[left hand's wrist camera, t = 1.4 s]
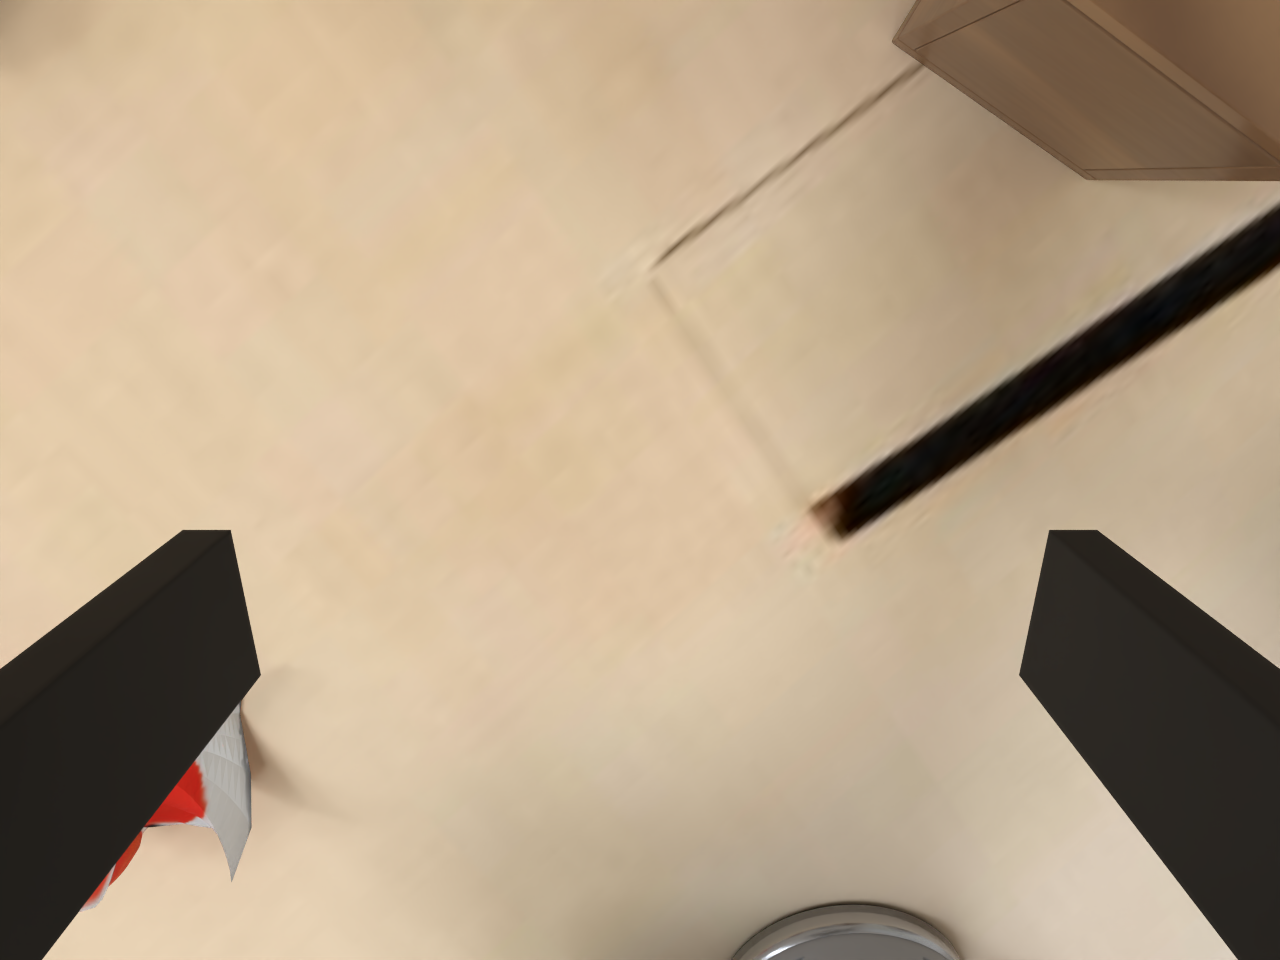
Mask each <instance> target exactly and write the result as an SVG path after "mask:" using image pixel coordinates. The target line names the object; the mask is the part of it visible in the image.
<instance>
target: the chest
mask: <svg viewBox="0 0 1280 960" xmlns="http://www.w3.org/2000/svg"><path fill="white" fill-rule="evenodd" d="M892 42H893V43H894V44H895V45H896V46H898V47H899V48H901V49H902V50H903V51H905V52H906V53H908V54H909V55H911V56H912V57H913V58H915V59H916V60H918V61H919V62H920V63H922V64H923V65H925V66H926V67H928V68H929V69H930V70H932V71H933V72H935V73H936V74H938V75H939V76H940V77H942V78H943V79H945V80H946V81H947V82H949V83H950V84H952V85H953V86H955V87H956V88H957V89H959V90H960V91H962V92H963V93H964V94H966V95H967V96H969V97H970V98H972V99H973V100H974V101H976V102H977V103H979V104H980V105H982V106H983V107H984V108H986V109H987V110H989V111H990V112H991V113H993V114H994V115H996V116H997V117H999V118H1000V119H1001V120H1003V121H1004V122H1006V123H1007V124H1008V125H1010V126H1011V127H1013V128H1014V129H1016V130H1017V131H1018V132H1020V133H1021V134H1023V135H1024V136H1026V137H1027V138H1028V139H1030V140H1031V141H1033V142H1034V143H1035V144H1037V145H1038V146H1040V147H1041V148H1043V149H1044V150H1045V151H1047V152H1048V153H1050V154H1051V155H1053V156H1054V157H1055V158H1057V159H1058V160H1060V161H1061V162H1062V163H1064V164H1065V165H1067V166H1068V167H1070V168H1071V169H1072V170H1074V171H1075V172H1077V173H1078V174H1079V175H1081V176H1082V177H1084V178H1085V179H1087V180H1190V181H1280V161H1279V160H1277V159H1276V158H1275V157H1273V156H1272V155H1271V154H1269V153H1268V152H1267V151H1266V150H1264V149H1263V148H1262V147H1260V146H1259V145H1258V144H1256V143H1255V142H1254V141H1252V140H1251V139H1250V138H1248V137H1247V136H1246V135H1244V134H1243V133H1242V132H1240V131H1239V130H1238V129H1236V128H1235V127H1234V126H1232V125H1231V124H1230V123H1228V122H1227V121H1226V120H1224V119H1223V118H1222V117H1220V116H1219V115H1218V114H1217V113H1215V112H1214V111H1213V110H1211V109H1210V108H1209V107H1207V106H1206V105H1205V104H1203V103H1202V102H1201V101H1199V100H1198V99H1197V98H1195V97H1194V96H1193V95H1191V94H1190V93H1189V92H1187V91H1186V90H1185V89H1183V88H1182V87H1181V86H1179V85H1178V84H1177V83H1175V82H1174V81H1173V80H1171V79H1170V78H1169V77H1168V76H1166V75H1165V74H1164V73H1162V72H1161V71H1160V70H1158V69H1157V68H1156V67H1154V66H1153V65H1152V64H1150V63H1149V62H1148V61H1146V60H1145V59H1144V58H1142V57H1141V56H1140V55H1138V54H1137V53H1136V52H1134V51H1133V50H1132V49H1130V48H1129V47H1128V46H1126V45H1125V44H1124V43H1122V42H1121V41H1120V40H1119V39H1117V38H1116V37H1115V36H1113V35H1112V34H1111V33H1109V32H1108V31H1107V30H1105V29H1104V28H1103V27H1101V26H1100V25H1099V24H1097V23H1096V22H1095V21H1093V20H1092V19H1091V18H1089V17H1088V16H1087V15H1085V14H1084V13H1083V12H1081V11H1080V10H1079V9H1077V8H1076V7H1075V6H1073V5H1072V4H1071V3H1070V2H1068V1H1067V0H917V1H916V3H915V4H914V6H913V7H912V9H911V11H910V12H909V14H908V16H907V17H906V19H905V21H904V22H903V24H902V25H901V27H900V29H899V30H898V32H897V34H896V35H895V37H894V38H893V41H892Z"/></svg>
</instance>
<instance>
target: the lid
mask: <svg viewBox="0 0 1280 960" xmlns="http://www.w3.org/2000/svg"><path fill="white" fill-rule="evenodd" d="M1067 1H1068V2H1070V3H1071V4H1072V5H1073V6H1075V7H1076V8H1077V9H1079V10H1080V11H1081V12H1083V13H1084V14H1085V15H1087V16H1088V17H1089V18H1091V19H1092V20H1093V21H1095V22H1096V23H1097V24H1099V25H1100V26H1101V27H1103V28H1104V29H1105V30H1107V31H1108V32H1109V33H1111V34H1112V35H1113V36H1115V37H1116V38H1117V39H1119V40H1120V41H1121V42H1122V43H1124V44H1125V45H1126V46H1128V47H1129V48H1130V49H1132V50H1133V51H1134V52H1136V53H1137V54H1138V55H1140V56H1141V57H1142V58H1144V59H1145V60H1146V61H1148V62H1149V63H1150V64H1152V65H1153V66H1154V67H1156V68H1157V69H1158V70H1160V71H1161V72H1162V73H1164V74H1165V75H1166V76H1168V77H1169V78H1170V79H1171V80H1173V81H1174V82H1175V83H1177V84H1178V85H1179V86H1181V87H1182V88H1183V89H1185V90H1186V91H1187V92H1189V93H1190V94H1191V95H1193V96H1194V97H1195V98H1197V99H1198V100H1199V101H1201V102H1202V103H1203V104H1205V105H1206V106H1207V107H1209V108H1210V109H1211V110H1213V111H1214V112H1215V113H1217V114H1218V115H1219V116H1220V117H1222V118H1223V119H1224V120H1226V121H1227V122H1228V123H1230V124H1231V125H1232V126H1234V127H1235V128H1236V129H1238V130H1239V131H1240V132H1242V133H1243V134H1244V135H1246V136H1247V137H1248V138H1250V139H1251V140H1252V141H1254V142H1255V143H1256V144H1258V145H1259V146H1260V147H1262V148H1263V149H1264V150H1266V151H1267V152H1268V153H1269V154H1271V155H1272V156H1273V157H1275V158H1276V159H1277V160H1279V161H1280V0H1067Z"/></svg>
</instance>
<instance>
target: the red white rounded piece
mask: <svg viewBox="0 0 1280 960" xmlns="http://www.w3.org/2000/svg"><path fill="white" fill-rule="evenodd" d="M240 707H241V701H240V703H239V704H238V705H237V707H236V708H235V709H234V711H233V712H232V713H231V715H230V716H229V717H228V718H227V720H226V721H225V722H224V724H223V725H222V726H221V728H220V729H219V730H218V731H217V733H216V734H215V735H214V737H213V738H212V739H211V741H210V742H209V743H208V744H207V746H206V747H205V748H204V750H203V751H202V752H201V754H200V755H199V756H198V757H197V759H196V760H195V761H194V763H193V764H192V765H191V767H190V768H189V769H188V770H187V772H186V773H185V774H184V776H183V777H182V778H181V780H180V781H179V782H178V783H177V785H176V786H175V787H174V789H173V790H172V791H171V793H170V794H169V795H168V796H167V798H166V799H165V800H164V802H163V803H162V804H161V806H160V807H159V808H158V809H157V811H156V812H155V813H154V815H153V816H152V817H151V819H150V820H149V821H148V822H147V824H146V825H145V826H144V828H143V829H142V830H141V832H140V833H139V834H138V835H137V837H136V838H135V839H134V841H133V842H132V843H131V845H130V846H129V847H128V848H127V850H126V851H125V852H124V854H123V855H122V856H121V858H120V859H119V860H118V861H117V863H116V864H115V865H114V867H113V868H112V869H111V871H110V872H109V873H108V874H107V876H106V877H105V878H104V880H103V881H102V882H101V884H100V885H99V886H98V887H97V889H96V890H95V891H94V893H93V894H92V895H91V897H90V898H89V899H88V900H87V902H86V903H85V904H84V906H83V907H82V908H81V910H80V911H85V910H88V909H91V908H94V907H96V906H97V904H98V903H99V902H100V901H101V900H102V899H103V897H104V895H105V893H106V890H107V888H108V886H110V885H111V884H112V883H113V882H114V881H115V880H116V879H117V878H118V877H119V876H120V875H121V873H122V872H123V871H124V870H125V868H126V867H127V866H128V864H129V863H130V861H131V859H132V858H133V856H134V855H135V853H136V852H137V850H138V848H139V846H140V843H141V838H142V834H143V833H144V831H145V830H146V829H147V827H156V826H166V825H175V824H189V825H195V826H200V827H209V828H212V829H213V830H214V831H215V832H216V833H217V835H218V837H219V839H220V841H221V844H222V846H223V849H224V852H225V854H226V857H227V861H228V865H229V868H230V874H231V882H232V880H233V877H234V874H235V872H236V869H237V866H238V863H239V860H240V858H241V855H242V852H243V849H244V846H245V844H246V841H247V838H248V835H249V833H250V830H251V773H250V768H249V762H248V757H247V751H246V745H245V740H244V734H243V728H242V723H241V717H240Z"/></svg>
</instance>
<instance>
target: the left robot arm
mask: <svg viewBox="0 0 1280 960" xmlns="http://www.w3.org/2000/svg"><path fill="white" fill-rule="evenodd" d="M260 675H261V674H260V669H259V664H258V659H257V654H256V650H255V645H254V640H253V635H252V630H251V626H250V621H249V616H248V611H247V606H246V602H245V597H244V592H243V587H242V582H241V578H240V573H239V568H238V563H237V558H236V554H235V549H234V544H233V539H232V534H231V530H182V531H181V532H180V533H178V534H177V535H176V536H174V537H173V538H172V539H170V540H169V541H168V542H167V543H165V544H164V545H163V546H161V547H160V548H159V549H157V550H156V551H155V552H153V553H152V554H151V555H149V556H148V557H147V558H146V559H144V560H143V561H142V562H140V563H139V564H138V565H136V566H135V567H134V568H132V569H131V570H130V571H128V572H127V573H126V574H125V575H123V576H122V577H121V578H119V579H118V580H117V581H115V582H114V583H113V584H111V585H110V586H109V587H107V588H106V589H105V590H103V591H102V592H101V593H100V594H98V595H97V596H96V597H94V598H93V599H92V600H90V601H89V602H88V603H86V604H85V605H84V606H82V607H81V608H80V609H79V610H77V611H76V612H75V613H73V614H72V615H71V616H69V617H68V618H67V619H65V620H64V621H63V622H61V623H60V624H59V625H58V626H56V627H55V628H54V629H52V630H51V631H50V632H48V633H47V634H46V635H44V636H43V637H42V638H40V639H39V640H38V641H37V642H35V643H34V644H33V645H31V646H30V647H29V648H27V649H26V650H25V651H23V652H22V653H21V654H19V655H18V656H17V657H15V658H14V659H13V660H12V661H10V662H9V663H8V664H6V665H5V666H4V667H2V668H1V669H0V960H42V959H43V958H44V956H45V955H46V954H47V952H48V951H49V950H50V949H51V947H52V946H53V945H54V943H55V942H56V941H57V939H58V938H59V937H60V936H61V934H62V933H63V932H64V930H65V929H66V928H67V926H68V925H69V924H70V923H71V921H72V920H73V919H74V917H75V916H76V915H77V913H78V912H79V911H80V910H81V908H82V907H83V906H84V904H85V903H86V902H87V900H88V899H89V898H90V897H91V895H92V894H93V893H94V891H95V890H96V889H97V887H98V886H99V885H100V884H101V882H102V881H103V880H104V878H105V877H106V876H107V874H108V873H109V872H110V871H111V869H112V868H113V867H114V865H115V864H116V863H117V861H118V860H119V859H120V858H121V856H122V855H123V854H124V852H125V851H126V850H127V848H128V847H129V846H130V845H131V843H132V842H133V841H134V839H135V838H136V837H137V835H138V834H139V833H140V832H141V830H142V829H143V828H144V826H145V825H146V824H147V822H148V821H149V820H150V819H151V817H152V816H153V815H154V813H155V812H156V811H157V809H158V808H159V807H160V806H161V804H162V803H163V802H164V800H165V799H166V798H167V796H168V795H169V794H170V793H171V791H172V790H173V789H174V787H175V786H176V785H177V783H178V782H179V781H180V780H181V778H182V777H183V776H184V774H185V773H186V772H187V770H188V769H189V768H190V767H191V765H192V764H193V763H194V761H195V760H196V759H197V757H198V756H199V755H200V754H201V752H202V751H203V750H204V748H205V747H206V746H207V744H208V743H209V742H210V741H211V739H212V738H213V737H214V735H215V734H216V733H217V731H218V730H219V729H220V728H221V726H222V725H223V724H224V722H225V721H226V720H227V718H228V717H229V716H230V715H231V713H232V712H233V711H234V709H235V708H236V707H237V705H238V704H239V703H240V701H241V700H242V699H243V698H244V696H245V695H246V694H247V692H248V691H249V690H250V688H251V687H252V686H253V685H254V683H255V682H256V681H257V679H258V678H259V677H260ZM1019 675H1020V677H1021V678H1022V679H1023V681H1024V682H1025V683H1026V685H1027V686H1028V687H1029V688H1030V690H1031V691H1032V692H1033V694H1034V695H1035V696H1036V698H1037V699H1038V700H1039V701H1040V703H1041V704H1042V705H1043V707H1044V708H1045V709H1046V711H1047V712H1048V713H1049V715H1050V716H1051V717H1052V718H1053V720H1054V721H1055V722H1056V724H1057V725H1058V726H1059V728H1060V729H1061V730H1062V731H1063V733H1064V734H1065V735H1066V737H1067V738H1068V739H1069V741H1070V742H1071V743H1072V744H1073V746H1074V747H1075V748H1076V750H1077V751H1078V752H1079V754H1080V755H1081V756H1082V757H1083V759H1084V760H1085V761H1086V763H1087V764H1088V765H1089V767H1090V768H1091V769H1092V770H1093V772H1094V773H1095V774H1096V776H1097V777H1098V778H1099V780H1100V781H1101V782H1102V783H1103V785H1104V786H1105V787H1106V789H1107V790H1108V791H1109V793H1110V794H1111V795H1112V796H1113V798H1114V799H1115V800H1116V802H1117V803H1118V804H1119V806H1120V807H1121V808H1122V809H1123V811H1124V812H1125V813H1126V815H1127V816H1128V817H1129V819H1130V820H1131V821H1132V822H1133V824H1134V825H1135V826H1136V828H1137V829H1138V830H1139V832H1140V833H1141V834H1142V835H1143V837H1144V838H1145V839H1146V841H1147V842H1148V843H1149V845H1150V846H1151V847H1152V848H1153V850H1154V851H1155V852H1156V854H1157V855H1158V856H1159V858H1160V859H1161V860H1162V861H1163V863H1164V864H1165V865H1166V867H1167V868H1168V869H1169V871H1170V872H1171V873H1172V874H1173V876H1174V877H1175V878H1176V880H1177V881H1178V882H1179V884H1180V885H1181V886H1182V887H1183V889H1184V890H1185V891H1186V893H1187V894H1188V895H1189V897H1190V898H1191V899H1192V900H1193V902H1194V903H1195V904H1196V906H1197V907H1198V908H1199V910H1200V911H1201V912H1202V913H1203V915H1204V916H1205V917H1206V919H1207V920H1208V921H1209V923H1210V924H1211V925H1212V926H1213V928H1214V929H1215V930H1216V932H1217V933H1218V934H1219V936H1220V937H1221V938H1222V939H1223V941H1224V942H1225V943H1226V945H1227V946H1228V947H1229V949H1230V950H1231V951H1232V952H1233V954H1234V955H1235V956H1236V958H1237V959H1238V960H1280V669H1279V668H1278V667H1276V666H1275V665H1274V664H1272V663H1271V662H1270V661H1268V660H1267V659H1266V658H1265V657H1263V656H1262V655H1261V654H1259V653H1258V652H1257V651H1255V650H1254V649H1253V648H1251V647H1250V646H1249V645H1247V644H1246V643H1245V642H1243V641H1242V640H1241V639H1240V638H1238V637H1237V636H1236V635H1234V634H1233V633H1232V632H1230V631H1229V630H1228V629H1226V628H1225V627H1224V626H1222V625H1221V624H1220V623H1219V622H1217V621H1216V620H1215V619H1213V618H1212V617H1211V616H1209V615H1208V614H1207V613H1205V612H1204V611H1203V610H1201V609H1200V608H1199V607H1198V606H1196V605H1195V604H1194V603H1192V602H1191V601H1190V600H1188V599H1187V598H1186V597H1184V596H1183V595H1182V594H1180V593H1179V592H1178V591H1177V590H1175V589H1174V588H1173V587H1171V586H1170V585H1169V584H1167V583H1166V582H1165V581H1163V580H1162V579H1161V578H1159V577H1158V576H1157V575H1155V574H1154V573H1153V572H1152V571H1150V570H1149V569H1148V568H1146V567H1145V566H1144V565H1142V564H1141V563H1140V562H1138V561H1137V560H1136V559H1134V558H1133V557H1132V556H1131V555H1129V554H1128V553H1127V552H1125V551H1124V550H1123V549H1121V548H1120V547H1119V546H1117V545H1116V544H1115V543H1113V542H1112V541H1111V540H1110V539H1108V538H1107V537H1106V536H1104V535H1103V534H1102V533H1100V532H1099V531H1098V530H1049V534H1048V539H1047V544H1046V549H1045V554H1044V558H1043V563H1042V568H1041V573H1040V578H1039V582H1038V587H1037V592H1036V597H1035V602H1034V606H1033V611H1032V616H1031V621H1030V626H1029V630H1028V635H1027V640H1026V645H1025V650H1024V654H1023V659H1022V664H1021V669H1020V674H1019ZM732 960H960V958H959V955H958V953H957V952H956V950H955V948H954V947H953V945H952V944H951V943H950V942H949V941H948V939H947V938H946V937H945V936H944V935H943V934H941V933H940V932H939V931H938V930H937V929H935V928H934V927H933V926H931V925H929V924H928V923H926V922H924V921H923V920H921V919H918V918H916V917H914V916H912V915H909V914H907V913H904V912H901V911H897V910H893V909H889V908H884V907H879V906H870V905H837V906H828V907H822V908H817V909H813V910H809V911H805V912H801V913H798V914H795V915H792V916H790V917H787V918H785V919H783V920H780V921H778V922H776V923H774V924H772V925H770V926H769V927H767V928H765V929H764V930H762V931H761V932H759V933H758V934H757V935H755V936H754V937H752V938H751V939H750V940H749V941H748V942H747V943H746V944H744V945H743V946H742V948H741V949H740V950H739V951H738V952H737V953H736V954H735V956H734V957H733V959H732Z"/></svg>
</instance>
